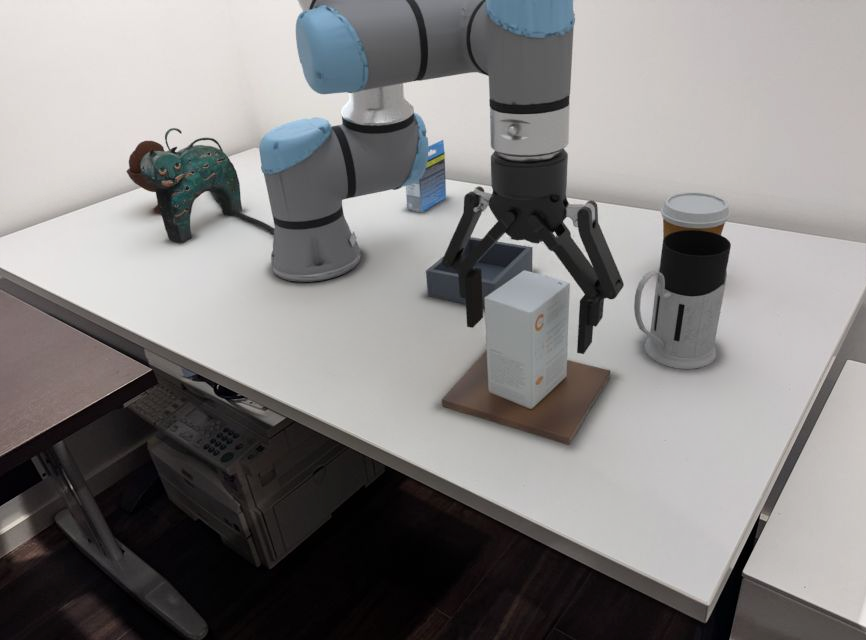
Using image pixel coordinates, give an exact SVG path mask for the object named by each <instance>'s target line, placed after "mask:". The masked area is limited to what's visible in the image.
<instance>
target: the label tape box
mask: <svg viewBox="0 0 866 640" xmlns="http://www.w3.org/2000/svg"><path fill="white" fill-rule="evenodd" d="M444 142H445V141H444V139H440V140H439V141H437V142H434V143H432V144H430V145H428V153H430V152H431V151H432V152H433V151H435V152H434V153H432V154H428V161H427V166H426V169H425V172H424V174H423V176H422V177H421V178H420V179H419V180H418V181H417V182H416V183H414V184H411V185H407V186H405V198H406V199H405V200H406V210H409V211H413V212H416V213H423V212H425V211H427V210H429V209H430V208H432V207H433V206H435V205H436V204H439V203H440V202H442V201H443V200H445V199H447V185H446V182H447V181H446V179H447V178H446V156H445V153H446V152H445V145H444Z"/></svg>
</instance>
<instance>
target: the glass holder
mask: <svg viewBox="0 0 866 640" xmlns="http://www.w3.org/2000/svg"><path fill="white" fill-rule="evenodd" d="M731 247H732V244H731V242H730V240H729V239H728V238H726V237H725V236H723V235H722V234H721V235H719V234H716V233H712V232H708V231H701V230H682V231H677V232H673V233H670V234H668V235H667V236H665V237H664V239H663V238H662V245H661V254H660V263H659V269H658V270H651V271H648V272H647V273H646V274H645V275H643V276H642V278H641V279H640V281H639V282H638V284H637V286H636V288H635V294H634V304H633V305H634V306H633V308H634V318H635V321H636V324H637V327H638V328H639V330H640V331H641V332H642V333H644V334H645V335H646V336H647V337H648V338H647V340H646V341H645V344H644V350H645V352H646V354H647V356H648V357H649V358H651V359H652V360H653V361H655V362H656V363H658V364H661V365H663V366H665V367H670V368H672V369H673V368H674V369H679V370H693V369H700V368H703V367H706V366H709V365H710V364H711V363H713V362H714V361H715V359H716V357H717V349H716V346H715V342H716V337H717V333H718V332H717V331H718V327H719V321H720V317H721V310H722V305H723V299H724V295H725V289H726V283H727V277H728V275H727V273H728V272H727V268H728V265H729V258H730V254H731ZM654 276H656V284H655V291H654V298H653V307H652V315H651V322H650V323H651V324H650V331H649V330H648V329H646V327H645V325H644V322H643V319H642V314H641V303H642V301H641V300H642V295H643V290H644V288H645V285H646V284H647V283H648V281H649V280H650V279H651V278H652V277H654Z"/></svg>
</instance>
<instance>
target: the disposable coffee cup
mask: <svg viewBox="0 0 866 640" xmlns="http://www.w3.org/2000/svg"><path fill="white" fill-rule="evenodd" d="M660 214H661V217H662V228H663V229H662V230H663V231H662V232H663V233H662V234H663V235H662V236H663V238H662V240H663V239H664V237H665V236H667V235H668V234H670V233H673V232H677V231H682V230H701V231H708V232H712V233H716V234H719V235H721V236H722V233H723V230H724V227H725V224H726V223H727V221H728V219H729V218H730V216H731V210H730V209H729V202H728V201H727V200H726V199H725V198H724V197H721V196H719V195H716V194H712V193H707V192H699V191H698V192H696V191H688V192H687V191H686V192H679V193H675V194H671V195H669V196H667V197H666V199H665V200H664V203H663V205H662V206H661V207H660Z"/></svg>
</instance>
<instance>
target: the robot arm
mask: <svg viewBox="0 0 866 640" xmlns="http://www.w3.org/2000/svg"><path fill="white" fill-rule="evenodd" d="M296 1H297V4H298V6H299V8H300V9H301V12H300V13H299V14H298V16H297V19H296V22H295V42H296V50H297V55H298V59H299V63H300V65H301V68H302V73H303V76H304V79H305V81H306V83H307V84H308V86H309V88H310V89H311V90H313V92H315V93H317V94H320V95H333V94H342V93H343V94H345V93H348V98H349V100H348V101H347V102H346V103H345V104H344V105H343V107H342V108H341V111H340V112H341V113H340V114H341V121H342V122H341V123H342V124H338V125H332V124H331V123H330V121H329V120H328V119H326V118H324V117H311V118H300V119H296V120H293V121H289V122H286V123H284V124H281V125H279V126H276V127H275V128H272V129H271V130H269V131H267V132H266V134H264V135H263V137H262V138H261V140H260V142H259V145H258V146H259V147H258V150H259V158H260V164H261V165H260V169H261V172H262V174H263V178H264V181H265V182H264V183H265V186H266V190H267V195H268V201H269V205H270V211H271V215H272V219H273V225H274V227H273V226H272V225H270V224H267V223H265V222H264V221H261V220H259V219H257V218H254V217H252V216H249V215H246V214H244V213H242V212H238V211H236V210H233V211H232V213H233V214H234V215H233V216H236V217H237V218H240V219H242V220H243V221H246V222H248V223H252V224H253V225H256V226H259V227H261V228H262V229H264V230H266V231H267V232H269V233H271V234H273V239H272V252H271V255H270V262H271V267H272V271H273V273H274V274H275V276H277V277H278V278H280V279H282V280H285V281H290V282H295V283H312V282H313V283H314V282H321V281H326V280H330V279H334V278H337V277H340V276H343V275H345V274H347V273H348V272H350V271H352V270H353V269H354V268H356V267H357V266H358V265H359V263H360V261H361V259H362V258H361V250H360V246H359V243H358V241H357V239H358V237H357V235H356V233H355V232H354V231H352V230H351V228H350V226H349V223H348V222H347V220H346V218H345V215H344V207H343V200H346V199H347V200H348V199H352V198H358V197H361V196H367V195H372V194H376V193H377V194H378V193H381V192H387V191H391V190H393V191H397V190H400V189H401V188H403V187H406V186H407V185H411V184H414V183H416V182H417V181H418V180H419V179H420V178H421V177H422V176H423V174H424V172H425V169H426V166H427V161H428V156H429V152H428V146H429V138H428V137H427V128H426V125H425V122H424V119H423V118H422V117H421V115H419V114H418V113H416V112H415V108H414V105H413V104H412V103H411V102H410V101H409V100H408V99H407V98H406V97H405V96H404V95H405V92H404V84H406V83H412V82H420V81H428V80H433V79H440V78H447V77H452V76H457V75H463V74H470V73H478V74H482V75H483V76H484V75H485V76H487V77H488V91H489V94H488V95H489V101H488V102H489V128H490V129H489V131H490V133H489V134H490V137H489V138H490V148H491V149H492V150H493V152H492V154H491V155H490V183H491V185H490V186H491V188H492V193H490V192H486V191H485V188H483V186H481V185H480V186H479V185H478V186H476V187H474V188H473V189H472V190H470V191H469V192H468V193H466V194H465V195H464V198H463V210H462V215H461V217H460V218H459V221H458V223H457V226H456V228H455V231H454V232H453V235H452V237H451V240H450V242H449V243H448V246H447V248H446V251H445V252H444V255H443V256H444V257H443V256H442V257H443V260H442V264H443V266H444V267H446V268H449V267H451V268H453V269H454V270H456V272H457V274H458V277H459V294H460V296H461V298H464V299H466V304H465V312H466V327H467V328H470V329H473V328H475V326H476V325H478V323H479V322H480V321H481V320H482V319H483V318H484V308H483V303H482V274H481V269H479V268H475V269H474V270H473V266H475V265H476V264H477V262H478V261H479V260H480V259H481V258H482V257H483V256H484V255H485V254H486V253H487V252H488V251H489V249H490V248H491V247H492V246H493V245H494V244H495V243H496V242H497V241H498V242H499V240H500V239H501V238H502V237H503V236H504V235H505V234H506V235H507V236H509V237H510V240H512V241H527V242H529V243H532V244H537V245H539V244H540V243H542V242H543V243H544V245H545V246H546V248H547V250H549V251H550V252H553V253H554V254H555V255H556V257H557V258H558V260H559V262H561V264H562V265H563V267H564V268H565V269H566V270H567V272H568V273H569V274H570V276H571V278H572V279H573V280H574V281H575V283H576V284H577V286H578V287H579V288H580V289H581V291H582V292H583V294H584V295H583V296H582V297H581V298H580V300H579V310H578V311H579V313H578V326H577V327H578V328H577V345H576V347H577V348H576V353H577V354H580V355H585V353H586V352H587V350H588V349H589V347H590V346H591V344H592V343H593V335H594V333H593V332H594V327H595V328H596V327H597V326H598V325H599V323H600V322H601V320H602V319H603V317H604V303H605V299H608V300H614V299H616V298H617V296H618V295H619V294H620V292H621V291H622V289H624V287H625V286H624V285H625V284H624V281H623V278H622V275H621V273H620V271H619V268H618V265H617V264H616V262H615V259H614V256H613V254H612V252H611V250H610V247H609V245H608V243H607V240H606V237H605V235H604V233H603V231H602V228H601V226H600V223H599V214H598V213H599V211H598V210H599V209H598V204H597V202H596V201H594V200H588V201H587V202H586V203H584V204H583V203H581V204H580V203H579V204H577V203H570V202H569V201H568V197H567V188H568V187H567V186H568V162H569V153H568V152H567V151H566V149H565V148H567V146H568V145H569V140H570V139H569V138H570V136H569V135H570V106H571V105H570V97H571V96H570V95H571V85H572V65H573V49H574V48H573V47H574V27H575V24H576V14H575V12H574V0H296ZM210 193H211V195H212V197H213V198H214V199H215V201H216V202H217V203H218V204H219V205H220V203H219V201H218V198H217V196H216V195H215V194H214V193H213V192H210ZM487 208H489V210H490V211H491V213H492V215H493V216H494V218H495V219H496V222H495V224H494V225H493V226H492V227H491V228H490V229H489V230H488V232H487V233H486V234H485V236H484V237H482V238H481V239H482V240H481V241H480V242H479V243H478V244H477V245H476V247H475V248H474V249H473V250H472V251H471V252H470V253H469V254H468V255H467V256H466V258H465V257H464V256H462V254H463V252H464V249H465V247H466V245H467V243H468V241H469V239H470V237H472V234H473V233H474V230H475V228H476V226H477V224H478V222H479V220H480V218H481V216H482V213H483V212H485V211H486V210H487ZM567 218H570V220H571V221H572V225H573V227H574V228H577V230H578V234H579V237H580V240H581V243H582V245H583V247H584V249H585V252H586V254H587V256H588V258H589V260H588V258H587V257H586V256H585V254H584V253H583V252H582V250H581V248H580V247H579V246H578V244H577V242H575V240H574V239H573V238H572V234H571V231H570V229H569V228H568V226H567V225H566V224H565V220H566V219H567ZM554 233H555V234H554Z"/></svg>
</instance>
